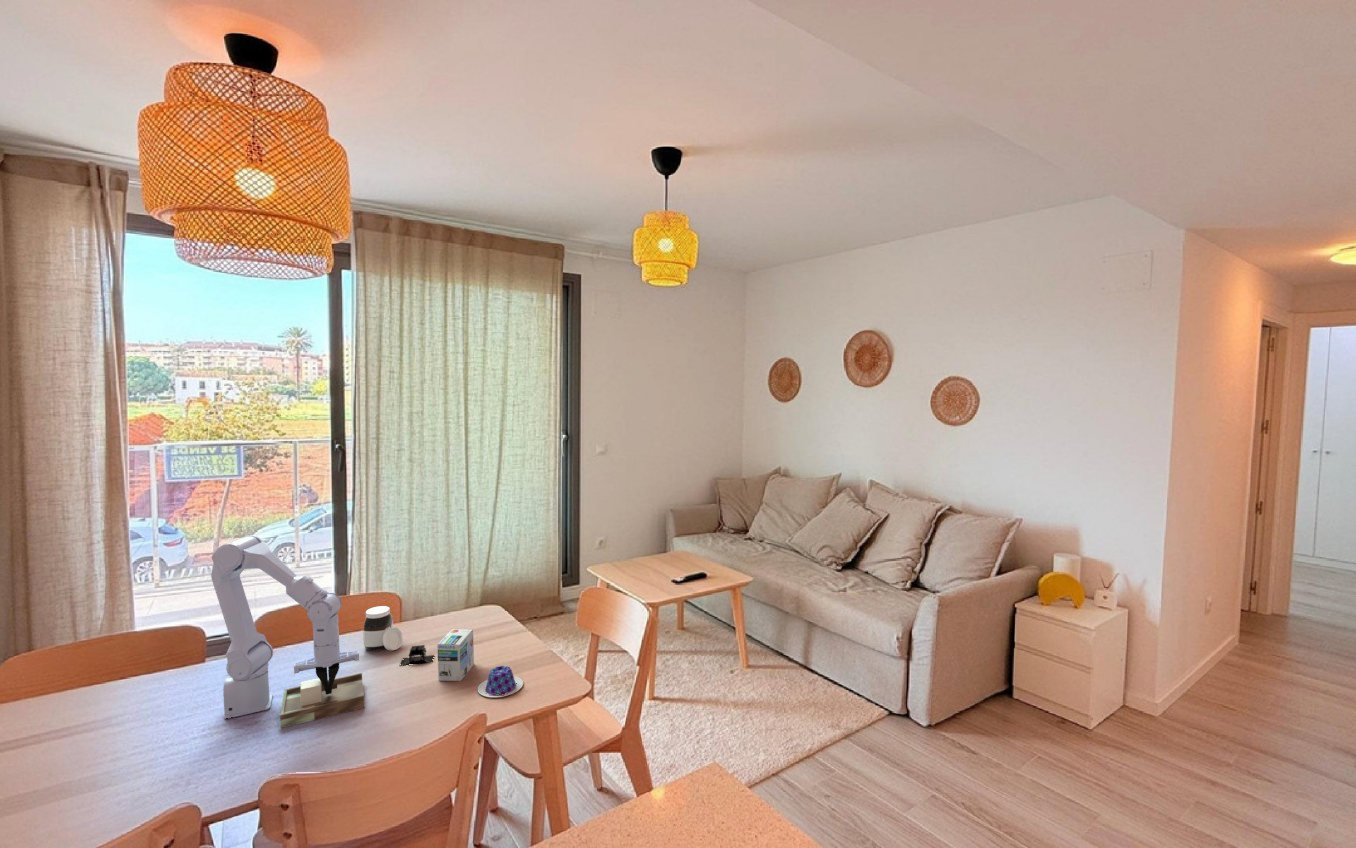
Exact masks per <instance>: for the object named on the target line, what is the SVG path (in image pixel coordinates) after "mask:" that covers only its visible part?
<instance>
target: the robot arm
mask: <svg viewBox="0 0 1356 848" xmlns="http://www.w3.org/2000/svg"><path fill="white" fill-rule="evenodd" d="M211 559H212V563H213V565H212V570H211V573H210V574H211V576H210V578H211V581H212V584H213V587H214V590H215V594H216V597H217V600H218V603H219V607H220V610H221V613H222V616H223V619H224V622H225V626H226V628H227V632H228V636H229V638H230V639H229V640H230V645H229V647H228V649H227V651H226V654H225V656H226V660H227V663H226V673H227V674H228V677H226V678H224V681H223V694H222V695H223V710H224V718H225V719H224V720H227V719H226V718H228V719H232V718H231V717H233V718H237V717H240V716H244V715H250V714H254V713H258V712H263V711H266V710H268V711H269V710H270V709H271V706H272V703H273V702H272V701H273V695H274V694H273V693H270V681H269V678H270V677H269V662H270V661H271V659H273V656H274V649H273V646H272V645H271V644H270V643H269V642H268V641H267V638H266V636H265V634H262V633H260V632H258V631H257V628H256V625H255V622H254V618H253V615H252V612H251V609H250V606H249V603H248V599H247V596H246V593H245V589H244V586H243V582H242V579H241V577H240V576H241V574H242V573H243V571H244V570H251V569H259V570H261V571H262V572H264V573H265V574H267V575H268V576H269V577H271V578H273V579H274V580H276V581H277V582H278V583H280V584H281V585H283V586H284V587H285V593H286V595H287V596H289V597H290V599H292V600H294V601H295V602H296V603H297V604H299V605H300V606H301V607H302V608H304V609H305V610H307V612H306V614H307V617H308V619H309V620H310V621H311V623H312V635H313V636H312V637H313V658H309V659H306V660H302V661H299V662H295V663H293V672H294V674H298V673H300V672H303V671H308V670H314V669H315V675H316V676H317V678H319V679H320V680H321V682H322V684H323V686H324V689H325V693H326V694H331V693H332V686H333V683H334V679H336V678H337V674H338V672H339V669H340V664H341V663H347V662H352V661H354V662H358V661H360V650H354V651H341V650H340V630H339V629H340V628H339V613H338V612H339V611H340V610H341V608H342V604H343V603H342V599H341V597H340V596H339V595H338V594H337V593H336V592H333V591H329V592H328V591H327V590H324V589H323V588H322V587H320V586H319V585H318V584H316V583H315V582H314V578H312V577H310V576H309V577H308V576H307V575H297V574H296V573H295V572H294V571H292V569H291V568H289V567H288V566H287V565H286V564H285V563H284V561H282V560H280V558H279V557H277V555H276V554H275V553H273V552H272V551H271V549H270V548H269V545H268V543H266V542H264V541H262V539H261V538H260V537H258V536H256V535H254V534H248V535H244V536H242V537H241V538H238V539H236V540H234V541H231V542H228V543H225V544H222V545H220V546H219V547H217V549H216V550H215V552H214V553H213V554H212V555H211ZM328 680H329V685H328Z"/></svg>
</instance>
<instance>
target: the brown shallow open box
mask: <svg viewBox="0 0 1356 848" xmlns="http://www.w3.org/2000/svg"><path fill="white" fill-rule="evenodd" d="M321 685H322V702H318V703H313V704H309V705H305V706H301V690H300V689H301V685H300V686H293V687H290V688H285V689H284V690H283V697H282V702H281V709H280V715H279V718H280V719H279V720H280V729H284V728H288V727H292V726H295V725H299V724H304V723H308V722H312V721H315V720H321V719H323V718H328V717H332V716H337V715H341V714H345V713H349V712H353V711H357V710H361V709H365V694H364V685H363V673H362V672H360V673H354V674H351V675H345V676H341V677H335V679H334V683H333V686H332V693H331V694H326V693H325V689H324V686H323V684H322V682H321ZM328 685H329V679H328Z"/></svg>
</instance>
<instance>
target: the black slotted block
mask: <svg viewBox="0 0 1356 848" xmlns="http://www.w3.org/2000/svg"><path fill="white" fill-rule="evenodd" d="M434 655H435V654H433V655H432V654H431V655H427V649H426V646H425V644H422V645H412V646H411V648H410V649H409V653H408V657H409V658H408V657H403V658H402V659H404V660H402V659H401V661H400V663H399V667H406V665H408V666H410V665H409V664H418V665H426V664H432V663H431V662H433V663H434V661H433V660H432V659H434V660H435V658H436V656H434ZM433 657H435V658H433ZM400 664H401V665H400Z"/></svg>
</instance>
